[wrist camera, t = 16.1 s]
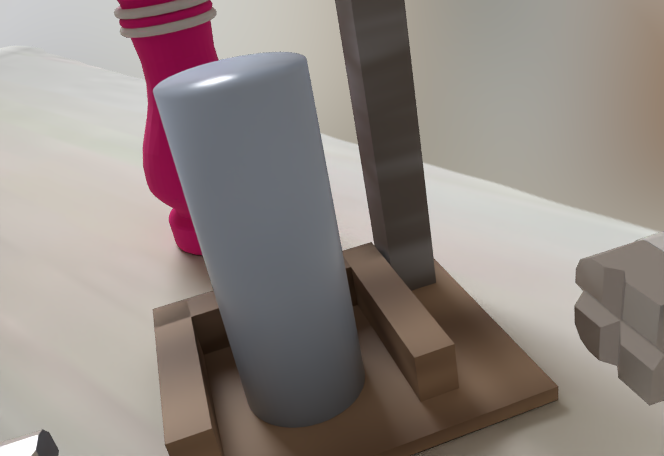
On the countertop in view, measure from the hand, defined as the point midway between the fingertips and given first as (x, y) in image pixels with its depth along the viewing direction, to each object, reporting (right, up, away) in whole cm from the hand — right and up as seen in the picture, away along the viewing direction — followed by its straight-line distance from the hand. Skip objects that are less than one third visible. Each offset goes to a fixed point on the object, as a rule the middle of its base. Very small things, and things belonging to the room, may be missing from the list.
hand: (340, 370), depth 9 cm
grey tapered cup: (-1, -4, +15) cm, 15 cm away
